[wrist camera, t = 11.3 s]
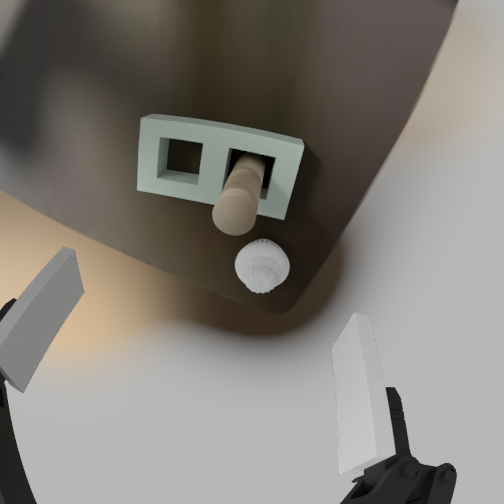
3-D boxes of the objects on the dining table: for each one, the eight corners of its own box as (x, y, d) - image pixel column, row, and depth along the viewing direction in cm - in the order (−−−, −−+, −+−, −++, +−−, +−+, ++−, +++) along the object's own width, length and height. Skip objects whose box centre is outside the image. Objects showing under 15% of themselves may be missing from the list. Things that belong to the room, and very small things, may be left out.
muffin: (276, 275, 37) (274, 315, 32) (231, 259, 36) (222, 296, 31) (297, 239, 34) (300, 276, 28) (250, 219, 33) (242, 253, 27)
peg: (234, 175, 30) (209, 230, 20) (239, 149, 28) (215, 192, 19) (261, 181, 30) (251, 239, 20) (267, 155, 29) (259, 201, 19)
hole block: (148, 180, 31) (137, 190, 29) (153, 113, 27) (141, 117, 24) (283, 207, 32) (283, 219, 29) (302, 139, 27) (304, 146, 25)
